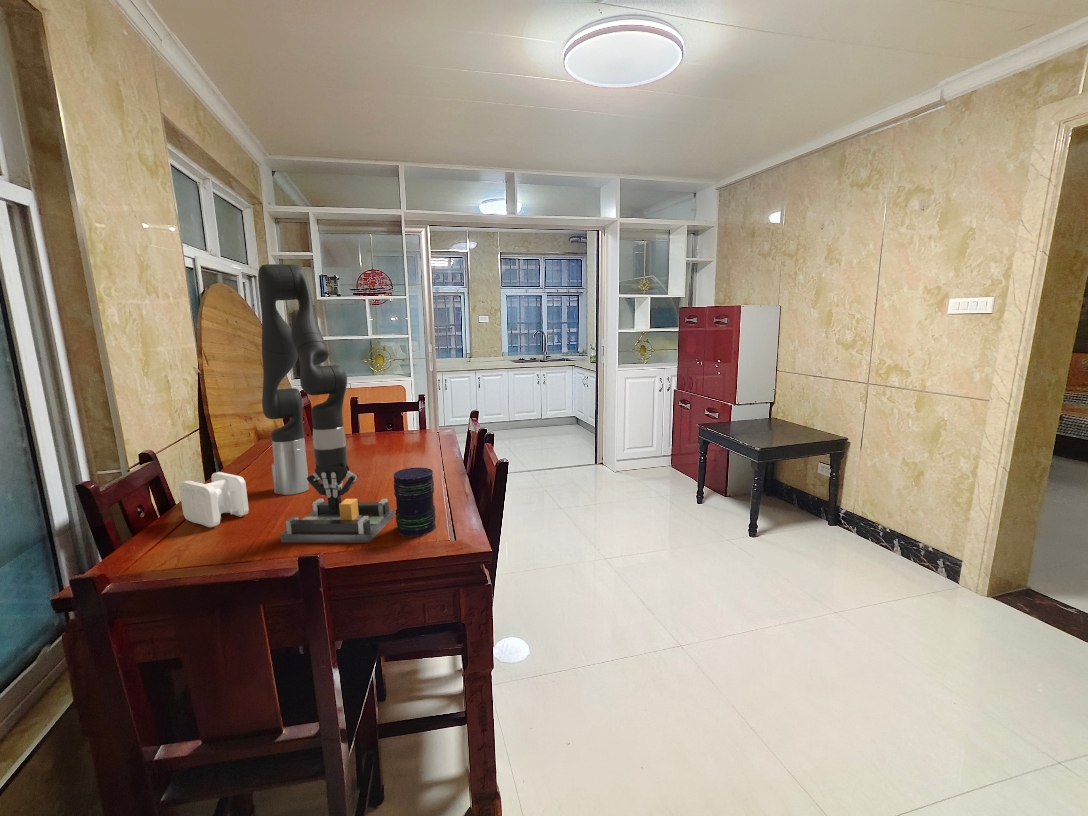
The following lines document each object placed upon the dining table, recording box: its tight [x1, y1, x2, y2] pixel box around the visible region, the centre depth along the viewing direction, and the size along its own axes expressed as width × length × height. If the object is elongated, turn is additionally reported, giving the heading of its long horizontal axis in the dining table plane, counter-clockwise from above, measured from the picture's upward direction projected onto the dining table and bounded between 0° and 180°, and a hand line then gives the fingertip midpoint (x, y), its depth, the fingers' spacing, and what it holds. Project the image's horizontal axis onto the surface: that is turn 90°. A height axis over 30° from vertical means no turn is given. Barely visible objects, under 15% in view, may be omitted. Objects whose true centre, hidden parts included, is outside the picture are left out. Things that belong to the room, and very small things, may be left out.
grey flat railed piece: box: [280, 498, 395, 544], centre depth 125 cm, size 22×17×5 cm
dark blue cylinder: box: [393, 467, 437, 537], centre depth 124 cm, size 10×10×15 cm
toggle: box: [339, 498, 362, 520], centre depth 125 cm, size 4×4×5 cm
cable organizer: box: [178, 471, 249, 528], centre depth 133 cm, size 15×11×12 cm
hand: (335, 509), depth 125 cm, fingers closed
